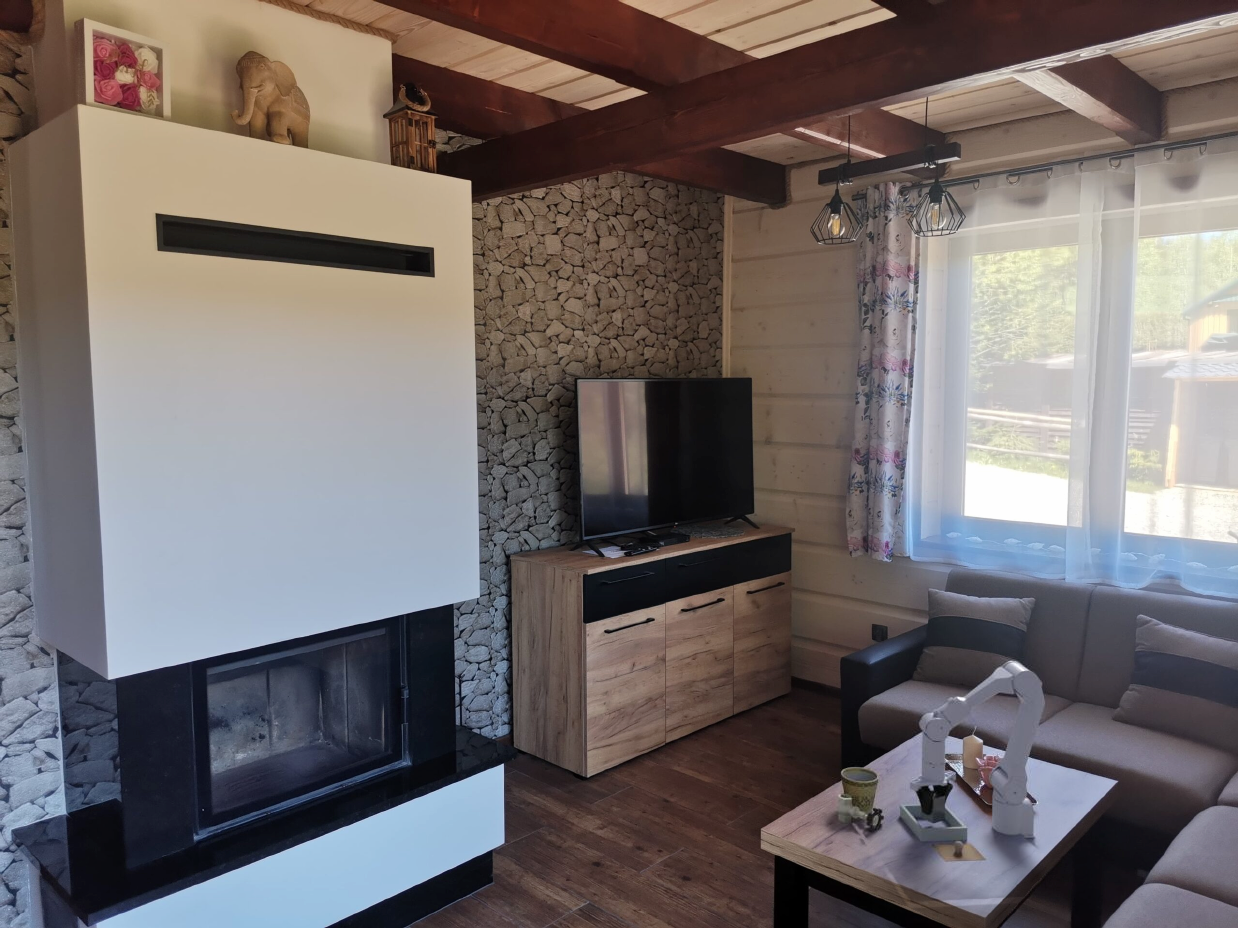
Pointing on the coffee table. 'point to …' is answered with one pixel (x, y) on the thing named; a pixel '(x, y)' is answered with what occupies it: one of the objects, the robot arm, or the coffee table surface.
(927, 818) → the grey rectangular block
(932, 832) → the bin
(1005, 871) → the coffee table surface
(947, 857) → the stud block
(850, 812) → the valve
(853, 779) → the ceramic cup
